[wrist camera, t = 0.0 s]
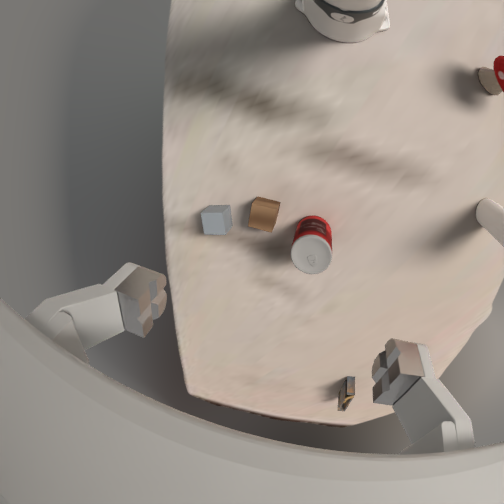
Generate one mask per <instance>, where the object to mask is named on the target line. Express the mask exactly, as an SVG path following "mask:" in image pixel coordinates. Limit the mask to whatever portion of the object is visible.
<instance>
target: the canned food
mask: <svg viewBox="0 0 504 504" xmlns="http://www.w3.org/2000/svg"><path fill="white" fill-rule="evenodd" d="M291 259H292V262H293V264H294V265H295V266H296V268H298V269H299V270H300V271H302V272H304V273H307V274H318V273H321V272H323V271H324V270H326V269H327V268H328V266H329V265H330V263H331V259H332V236H331V228H330V226H329V224H328V223H327V222H326V221H325V220H324V219H322V218H321V217H318V216H308V217H305V218H304V219H302V220H301V221H300V222H299V224H298V225H297V228H296V232H295V236H294V240H293V243H292V248H291Z"/></svg>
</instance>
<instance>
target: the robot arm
mask: <svg viewBox="0 0 504 504" xmlns="http://www.w3.org/2000/svg"><path fill="white" fill-rule="evenodd" d="M295 7H296V8H297V9H298V10H299V11H301V12H302V13H304V14H305V15H306V16H307V18H308V20H309V21H310V23H311V24H312V26H313V27H314V28H315V29H316V30H317V31H318V32H320V33H321V34H323V35H324V36H326V37H328V38H330V39H333V40H336V41H340V42H349V43H352V42H359V41H363V40H365V39H367V38H369V37H371V36H372V35H373V34H375V33H376V32H381V31H386V30H388V29H389V27H390V21H389V14H388V7H387V0H302V1H301V0H296V1H295ZM384 20H385V21H384ZM165 285H166V277H165V276H164V275H163V274H160V273H158V272H155V271H152V270H150V269H147V268H145V267H142V266H139V265H136V264H134V263H131V262H129V263H126V264H125V265H124V266H123V267H122V268H120V269H119V270H118V271H117V272H116V273H115V274H114V275H113V276H112V277H110V278H109V279H108V280H107V281H106V282H105V283H104V284H103V285H101V284H97V285H93V286H89V287H86V288H83V289H79V290H76V291H72V292H69V293H65V294H62V295H58V296H55V297H52V298H48V299H46V300H44V301H43V302H42V303H41V304H40V305H39V306H38V307H37V308H36V309H35V310H33V311H32V312H31V313H30V314H29V315H28V316H27V317H26V318H25V319H24V318H22V317H21V316H20V315H19V314H18V313H17V312H16V311H14V310H13V309H12V308H11V307H10V306H9V305H8V304H7V303H6V302H4V301H3V300H2V299H1V298H0V504H504V442H500V443H495V444H491V445H486V446H481V447H476V448H475V442H474V435H473V429H472V423H471V419H470V418H469V417H468V415H467V414H466V413H465V411H464V410H463V409H462V408H461V406H460V405H459V404H458V402H457V401H456V400H455V399H454V397H453V396H452V395H451V394H450V392H449V391H448V390H447V389H446V387H445V386H444V385H443V384H442V382H441V381H440V380H439V379H436V378H435V373H434V369H433V365H432V361H431V357H430V354H429V350H428V347H427V346H426V345H425V344H420V343H413V342H408V341H403V340H398V339H393V338H391V339H390V340H389V341H388V342H387V343H386V345H385V351H383V352H381V353H379V354H378V356H377V357H376V359H375V361H374V364H373V367H372V378H373V380H374V381H375V383H376V384H375V385H374V386H373V403H379V404H385V405H393V406H392V407H393V409H394V411H395V413H396V415H397V417H398V418H399V420H400V422H401V424H402V426H403V428H404V430H405V432H406V434H407V436H408V438H409V440H410V442H411V445H410V446H409V447H407V448H405V449H404V450H403V451H402V452H400V454H367V453H352V452H341V451H333V450H325V449H318V448H311V447H305V446H300V445H294V444H289V443H284V442H279V441H275V440H270V439H266V438H262V437H258V436H254V435H250V434H247V433H243V432H240V431H236V430H233V429H229V428H226V427H223V426H220V425H217V424H214V423H211V422H208V421H205V420H203V419H200V418H197V417H194V416H192V415H189V414H186V413H184V412H181V411H179V410H176V409H174V408H172V407H169V406H167V405H164V404H162V403H160V402H158V401H156V400H153V399H151V398H149V397H147V396H145V395H143V394H141V393H139V392H137V391H134V390H133V389H130V388H128V387H127V386H125V385H122V384H121V383H119V382H117V381H115V380H114V379H112V378H110V377H108V376H106V375H105V374H103V373H101V372H99V371H98V370H96V369H94V368H93V367H91V366H89V359H88V357H87V355H86V353H85V351H84V350H86V349H88V348H90V347H92V346H94V345H96V344H98V343H100V342H102V341H105V340H107V339H109V338H111V337H113V336H114V335H117V334H119V333H121V332H123V331H124V329H125V330H127V331H129V332H132V333H134V334H136V335H139V336H141V337H145V336H146V335H147V333H148V332H149V331H150V329H151V328H152V327H153V320H154V319H157V318H159V317H160V316H161V314H162V313H163V311H164V308H165V305H166V301H167V294H166V292H165V291H164V289H163V287H164V286H165Z"/></svg>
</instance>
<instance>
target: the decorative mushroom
mask: <svg viewBox="0 0 504 504" xmlns="http://www.w3.org/2000/svg"><path fill="white" fill-rule="evenodd" d="M478 77H479V80H480V82H481V84H482V86H483V87H484V88H485V90H487V91H488V92H489V93H491V94H493V95H499V94H500V93H501V92H502V91H503V92H504V56H498V57H497V58H495V61H494V70H492V69H489V68H487V67H482V68H480V70H479V72H478Z"/></svg>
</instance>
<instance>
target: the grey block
mask: <svg viewBox="0 0 504 504" xmlns="http://www.w3.org/2000/svg"><path fill="white" fill-rule="evenodd" d="M201 218H202V224H203V230H204V234H212V235H226V234H227V232H228V231H229V230H230V228H231V227H232V226H233V225H232V217H231V209H230V205H209V206H208V207H207V208H206V209H205V210H203V211H202V212H201Z"/></svg>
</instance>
